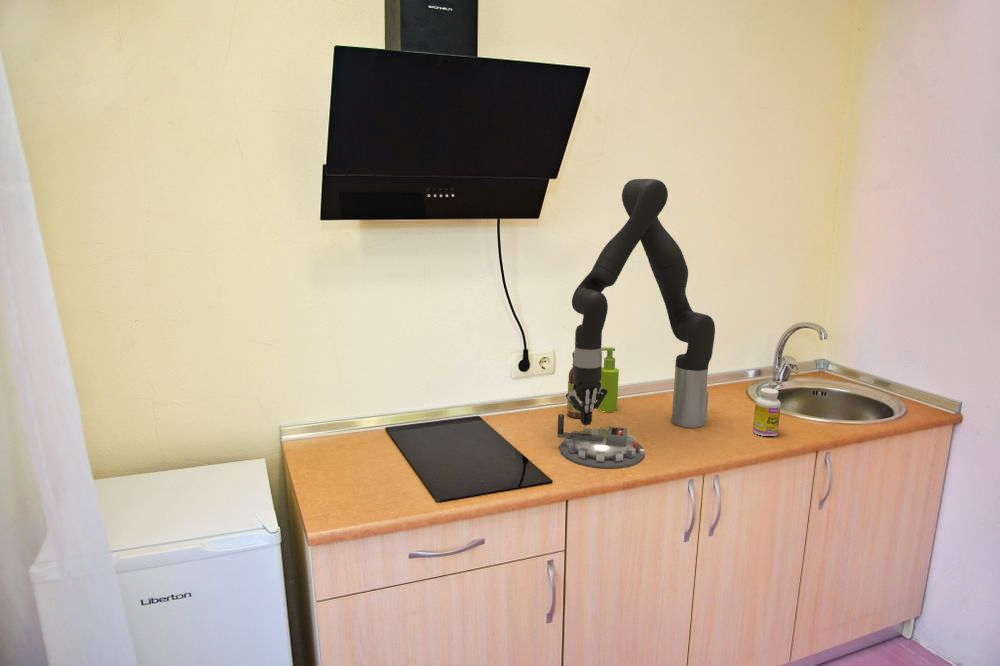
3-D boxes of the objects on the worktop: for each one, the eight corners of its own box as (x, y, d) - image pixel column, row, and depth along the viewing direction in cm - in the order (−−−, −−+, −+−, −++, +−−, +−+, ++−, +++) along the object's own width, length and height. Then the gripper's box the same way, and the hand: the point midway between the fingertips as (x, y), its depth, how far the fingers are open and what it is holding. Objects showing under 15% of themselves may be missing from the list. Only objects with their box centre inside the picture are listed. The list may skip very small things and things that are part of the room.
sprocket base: (608, 430, 185) (608, 425, 185) (662, 458, 167) (662, 452, 166) (543, 444, 175) (544, 439, 175) (593, 475, 156) (594, 469, 156)
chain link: (608, 435, 174) (608, 426, 173) (627, 436, 173) (627, 428, 172) (606, 444, 167) (606, 435, 167) (626, 446, 166) (626, 437, 165)
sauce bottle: (586, 419, 194) (589, 355, 190) (566, 418, 196) (567, 354, 191) (588, 412, 201) (590, 350, 196) (568, 411, 202) (570, 349, 198)
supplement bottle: (765, 439, 180) (769, 395, 177) (747, 431, 186) (751, 388, 183) (783, 435, 183) (787, 392, 180) (764, 428, 188) (769, 385, 186)
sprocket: (561, 431, 182) (561, 403, 180) (638, 437, 178) (639, 409, 176) (553, 457, 164) (553, 427, 162) (638, 464, 160) (640, 433, 158)
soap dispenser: (592, 406, 206) (595, 345, 202) (613, 406, 207) (616, 345, 202) (597, 413, 200) (599, 350, 196) (619, 412, 201) (622, 349, 197)
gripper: (575, 370, 167) (574, 433, 171) (616, 363, 174) (613, 424, 177) (559, 363, 174) (558, 424, 177) (598, 357, 180) (596, 416, 184)
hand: (586, 424), depth 177 cm, fingers closed
